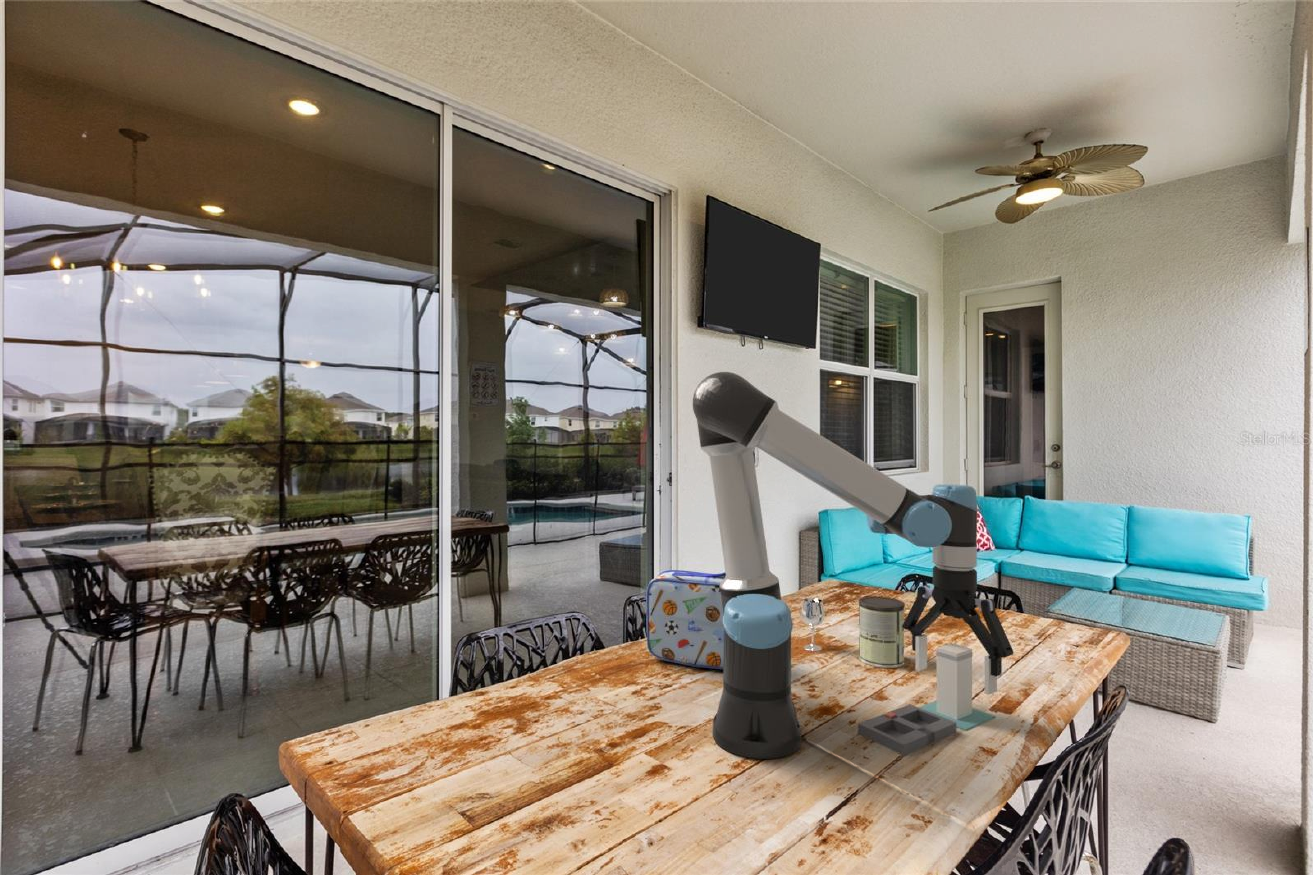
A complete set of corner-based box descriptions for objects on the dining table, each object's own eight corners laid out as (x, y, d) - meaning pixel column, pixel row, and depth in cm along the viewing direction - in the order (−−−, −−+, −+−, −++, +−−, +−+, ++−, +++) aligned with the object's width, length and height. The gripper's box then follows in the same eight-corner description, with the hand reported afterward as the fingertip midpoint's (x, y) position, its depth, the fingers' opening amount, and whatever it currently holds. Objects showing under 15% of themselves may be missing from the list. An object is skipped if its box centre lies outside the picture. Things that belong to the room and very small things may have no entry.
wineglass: (808, 652, 150) (808, 603, 151) (796, 645, 156) (797, 598, 156) (829, 650, 152) (829, 602, 152) (816, 643, 158) (817, 597, 158)
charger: (957, 720, 111) (957, 653, 112) (936, 711, 115) (936, 647, 115) (972, 713, 114) (972, 649, 114) (951, 705, 118) (951, 643, 118)
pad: (965, 735, 108) (965, 729, 108) (914, 714, 116) (914, 709, 116) (995, 721, 113) (995, 716, 113) (944, 702, 121) (944, 697, 121)
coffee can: (854, 652, 151) (854, 595, 151) (897, 654, 150) (897, 596, 150) (864, 667, 141) (864, 606, 141) (910, 669, 140) (910, 607, 140)
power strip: (904, 760, 99) (904, 743, 99) (858, 738, 106) (858, 721, 106) (956, 737, 107) (956, 720, 107) (910, 717, 114) (910, 702, 114)
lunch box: (766, 663, 143) (767, 569, 143) (759, 678, 133) (760, 577, 133) (655, 649, 152) (656, 560, 152) (641, 663, 142) (642, 568, 142)
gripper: (1035, 576, 107) (1035, 698, 106) (907, 555, 127) (907, 657, 127) (1013, 581, 103) (1013, 708, 102) (884, 558, 123) (884, 663, 123)
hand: (954, 680), depth 115 cm, fingers open, 13 cm apart
